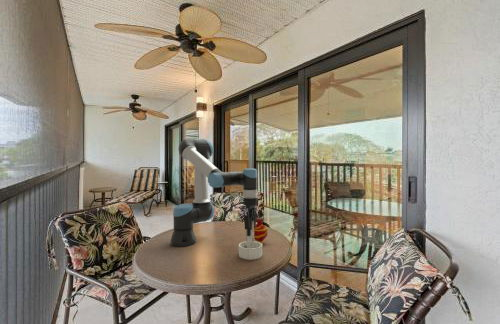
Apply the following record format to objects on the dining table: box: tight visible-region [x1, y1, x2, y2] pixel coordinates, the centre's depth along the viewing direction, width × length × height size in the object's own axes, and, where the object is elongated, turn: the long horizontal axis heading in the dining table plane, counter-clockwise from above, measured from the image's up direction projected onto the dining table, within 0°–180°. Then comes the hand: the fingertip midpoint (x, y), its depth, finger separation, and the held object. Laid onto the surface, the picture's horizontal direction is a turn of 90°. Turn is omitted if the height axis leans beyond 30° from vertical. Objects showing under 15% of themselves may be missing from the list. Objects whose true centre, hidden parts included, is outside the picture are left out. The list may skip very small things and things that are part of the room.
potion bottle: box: [254, 217, 269, 245], centre depth 157 cm, size 10×10×15 cm
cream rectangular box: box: [245, 221, 255, 242], centre depth 137 cm, size 4×2×11 cm, turn 66°
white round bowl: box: [238, 240, 263, 261], centre depth 137 cm, size 13×13×6 cm
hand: (250, 240), depth 137 cm, fingers closed on cream rectangular box, 2 cm apart
